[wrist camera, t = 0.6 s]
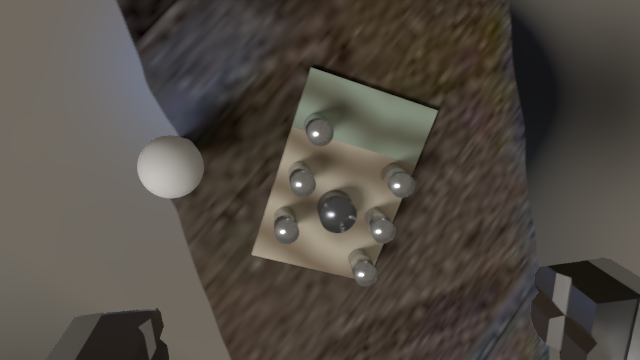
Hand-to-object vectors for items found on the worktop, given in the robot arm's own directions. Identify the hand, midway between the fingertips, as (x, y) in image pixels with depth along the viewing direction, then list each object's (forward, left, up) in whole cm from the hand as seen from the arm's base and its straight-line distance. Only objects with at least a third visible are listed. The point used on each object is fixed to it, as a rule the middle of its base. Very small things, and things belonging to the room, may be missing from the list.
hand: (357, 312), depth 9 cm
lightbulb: (+10, -8, -42) cm, 44 cm away
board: (+9, +11, -42) cm, 44 cm away
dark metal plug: (+12, +11, -41) cm, 44 cm away
